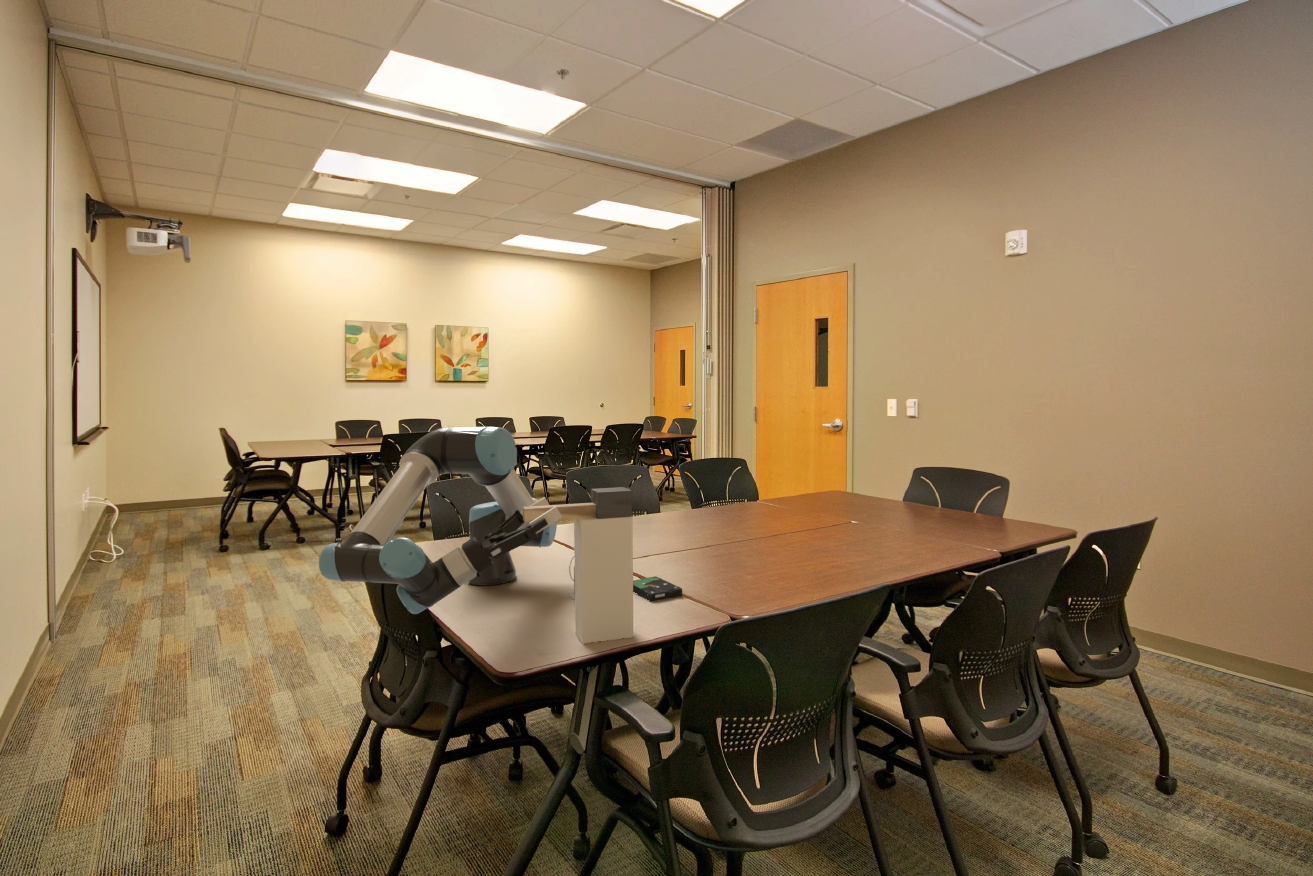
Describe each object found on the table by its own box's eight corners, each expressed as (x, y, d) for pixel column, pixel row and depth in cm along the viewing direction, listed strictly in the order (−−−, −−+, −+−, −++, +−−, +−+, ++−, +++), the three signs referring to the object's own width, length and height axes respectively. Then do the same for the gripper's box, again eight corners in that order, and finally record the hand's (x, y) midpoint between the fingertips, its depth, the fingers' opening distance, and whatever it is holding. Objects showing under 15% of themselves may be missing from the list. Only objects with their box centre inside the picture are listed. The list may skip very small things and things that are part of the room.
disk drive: (683, 598, 189) (655, 584, 202) (683, 588, 189) (655, 575, 201) (651, 604, 184) (625, 590, 196) (651, 594, 183) (625, 580, 196)
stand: (575, 633, 160) (573, 515, 158) (624, 627, 164) (623, 512, 162) (582, 643, 153) (580, 520, 151) (633, 637, 157) (632, 517, 155)
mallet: (522, 519, 153) (521, 492, 153) (624, 512, 161) (624, 487, 161) (526, 523, 148) (525, 496, 147) (631, 516, 156) (631, 490, 155)
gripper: (474, 561, 160) (551, 511, 165) (483, 590, 136) (573, 531, 142) (456, 534, 158) (535, 485, 163) (463, 559, 135) (555, 501, 140)
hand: (553, 506), depth 153 cm, fingers open, 13 cm apart
